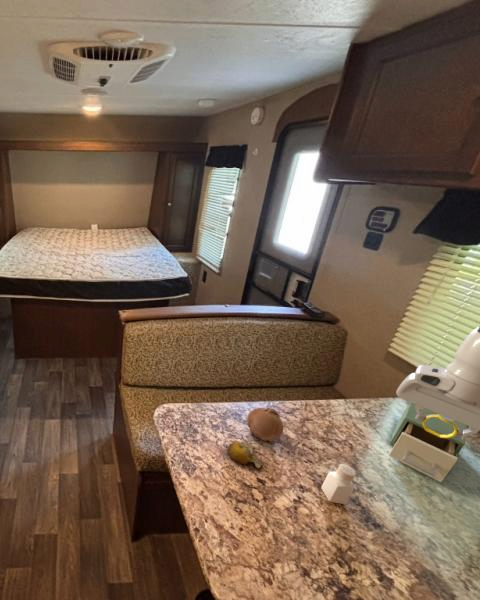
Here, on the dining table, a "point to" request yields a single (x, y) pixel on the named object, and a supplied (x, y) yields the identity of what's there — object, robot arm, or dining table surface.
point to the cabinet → (429, 426)
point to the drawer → (424, 451)
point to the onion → (265, 423)
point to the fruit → (242, 453)
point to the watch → (442, 420)
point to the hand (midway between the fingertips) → (437, 427)
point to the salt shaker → (339, 484)
